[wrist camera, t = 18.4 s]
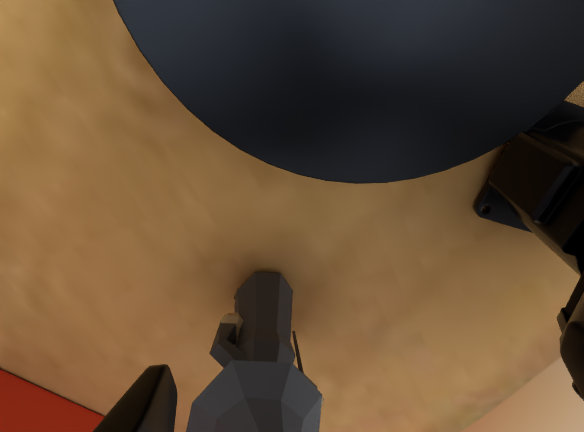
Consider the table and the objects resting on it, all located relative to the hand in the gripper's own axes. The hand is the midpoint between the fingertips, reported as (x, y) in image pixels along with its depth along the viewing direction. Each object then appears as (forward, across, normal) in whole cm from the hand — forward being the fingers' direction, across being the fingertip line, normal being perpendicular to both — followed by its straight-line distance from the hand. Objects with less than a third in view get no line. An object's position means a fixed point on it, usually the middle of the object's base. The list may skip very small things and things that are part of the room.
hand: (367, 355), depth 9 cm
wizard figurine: (+13, +3, +9) cm, 16 cm away
